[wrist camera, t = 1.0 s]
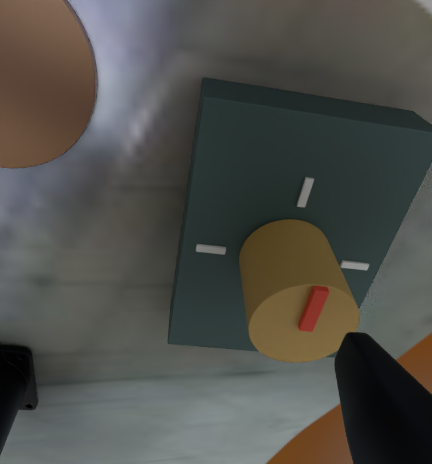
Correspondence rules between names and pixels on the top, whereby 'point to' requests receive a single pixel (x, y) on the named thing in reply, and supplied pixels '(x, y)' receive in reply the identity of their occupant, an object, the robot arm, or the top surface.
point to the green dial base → (287, 193)
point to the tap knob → (295, 292)
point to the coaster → (43, 81)
